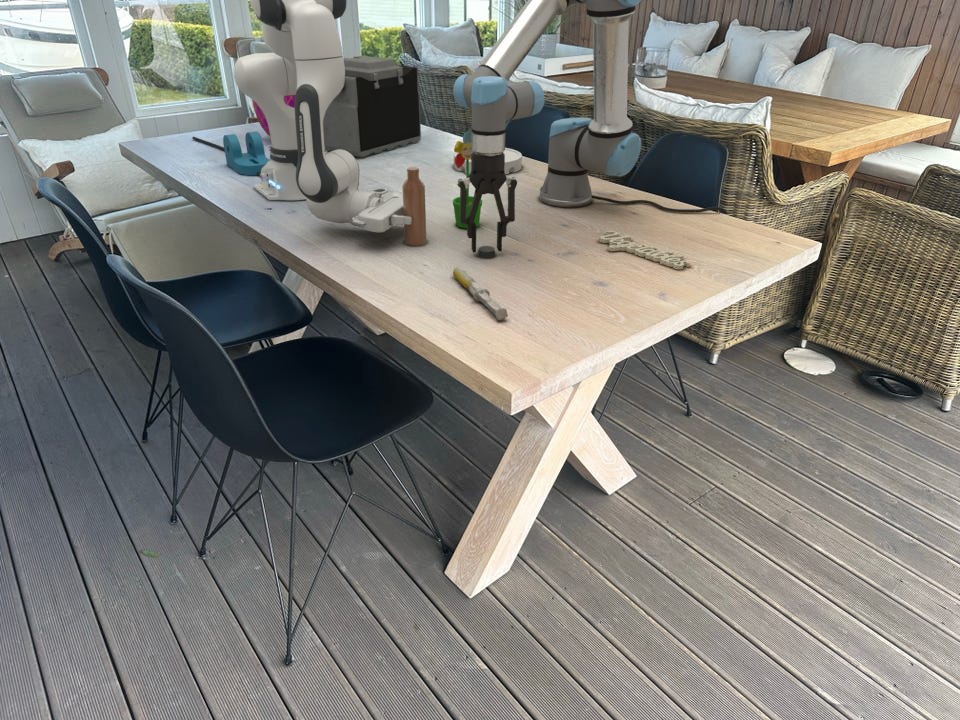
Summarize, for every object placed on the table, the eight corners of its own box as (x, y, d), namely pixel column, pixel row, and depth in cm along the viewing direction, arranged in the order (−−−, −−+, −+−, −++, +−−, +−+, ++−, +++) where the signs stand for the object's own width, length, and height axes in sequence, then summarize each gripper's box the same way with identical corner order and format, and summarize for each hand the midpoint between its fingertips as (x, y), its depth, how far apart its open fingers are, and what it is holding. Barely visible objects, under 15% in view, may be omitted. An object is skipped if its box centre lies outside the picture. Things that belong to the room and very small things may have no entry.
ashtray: (455, 157, 245) (455, 145, 243) (520, 158, 244) (521, 146, 242) (451, 174, 225) (451, 162, 223) (522, 176, 224) (522, 164, 222)
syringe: (449, 274, 155) (449, 263, 153) (465, 272, 156) (464, 260, 154) (490, 323, 135) (491, 310, 133) (508, 319, 136) (508, 307, 134)
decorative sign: (585, 238, 173) (610, 229, 179) (584, 241, 173) (610, 233, 179) (673, 269, 156) (698, 259, 162) (672, 273, 156) (697, 262, 162)
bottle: (430, 241, 173) (428, 167, 164) (417, 247, 169) (414, 172, 160) (414, 236, 176) (411, 164, 166) (400, 242, 172) (396, 169, 162)
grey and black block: (383, 133, 276) (378, 52, 261) (425, 141, 265) (422, 56, 250) (314, 150, 251) (304, 61, 235) (358, 160, 240) (350, 67, 224)
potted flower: (459, 231, 179) (458, 133, 166) (446, 222, 185) (444, 126, 172) (490, 226, 182) (492, 129, 170) (477, 217, 188) (478, 123, 176)
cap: (478, 251, 167) (479, 245, 166) (495, 252, 167) (495, 246, 166) (477, 258, 164) (477, 251, 163) (494, 258, 164) (494, 252, 163)
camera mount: (227, 164, 233) (221, 132, 227) (257, 160, 238) (252, 129, 233) (244, 176, 220) (239, 143, 215) (276, 172, 225) (271, 139, 220)
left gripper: (346, 209, 163) (398, 216, 159) (385, 186, 179) (434, 192, 175) (348, 234, 166) (400, 242, 162) (386, 209, 183) (434, 216, 179)
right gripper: (525, 147, 157) (521, 242, 169) (445, 148, 155) (446, 245, 167) (532, 155, 151) (527, 254, 163) (448, 157, 149) (449, 257, 160)
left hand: (418, 216), depth 169 cm, fingers closed on bottle, 5 cm apart
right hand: (486, 249), depth 165 cm, fingers open, 5 cm apart
